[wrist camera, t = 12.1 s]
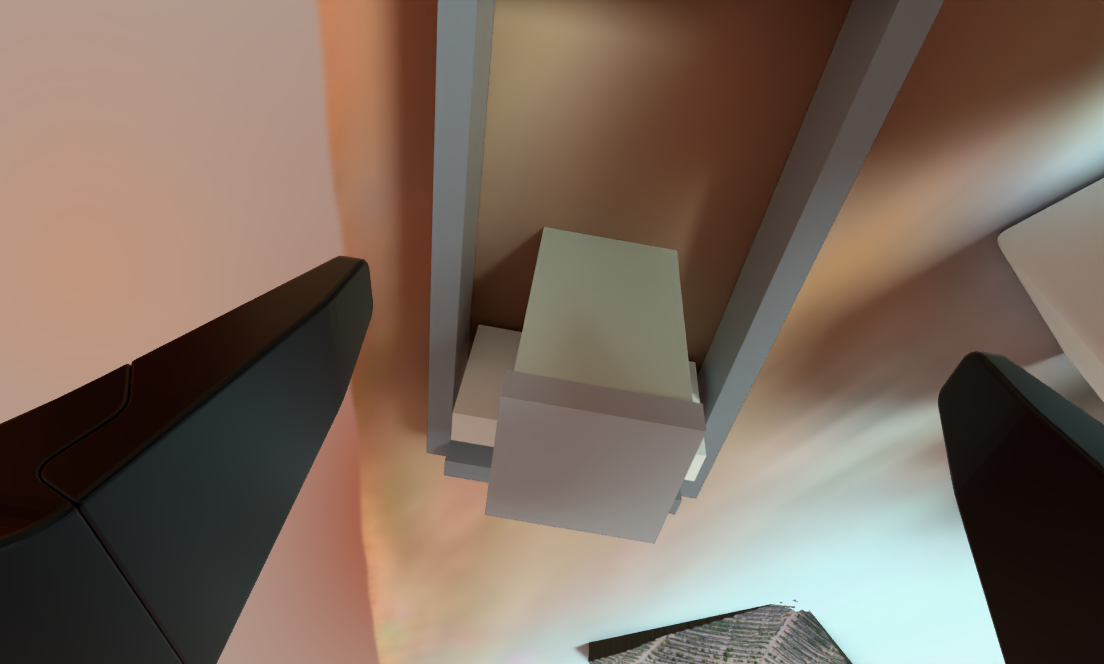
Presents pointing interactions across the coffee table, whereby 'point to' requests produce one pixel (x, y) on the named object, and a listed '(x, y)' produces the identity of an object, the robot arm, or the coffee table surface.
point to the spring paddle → (485, 385)
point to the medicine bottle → (1066, 274)
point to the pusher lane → (776, 253)
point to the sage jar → (597, 392)
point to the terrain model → (727, 641)
